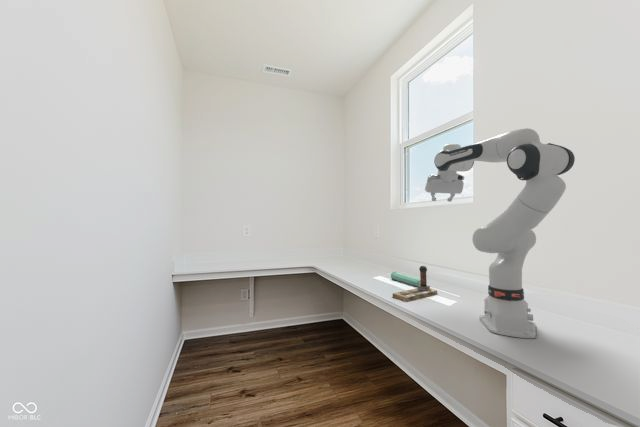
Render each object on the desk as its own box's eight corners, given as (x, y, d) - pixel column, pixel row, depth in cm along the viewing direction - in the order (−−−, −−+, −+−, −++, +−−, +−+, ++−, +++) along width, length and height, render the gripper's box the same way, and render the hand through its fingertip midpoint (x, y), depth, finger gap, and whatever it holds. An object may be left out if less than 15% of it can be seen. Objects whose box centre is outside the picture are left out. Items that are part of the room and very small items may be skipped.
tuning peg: (423, 288, 160) (422, 264, 160) (434, 290, 153) (433, 266, 153) (417, 289, 157) (416, 265, 157) (428, 292, 151) (427, 267, 151)
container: (421, 277, 172) (395, 269, 195) (414, 281, 170) (389, 273, 193) (424, 285, 173) (398, 277, 196) (417, 290, 171) (392, 281, 194)
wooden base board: (422, 290, 163) (422, 286, 163) (437, 294, 155) (437, 290, 155) (392, 297, 151) (392, 292, 151) (407, 301, 142) (407, 297, 142)
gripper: (431, 175, 141) (427, 201, 145) (467, 177, 145) (461, 203, 149) (425, 173, 147) (420, 199, 151) (459, 175, 151) (454, 200, 155)
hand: (441, 201), depth 150 cm, fingers open, 8 cm apart
